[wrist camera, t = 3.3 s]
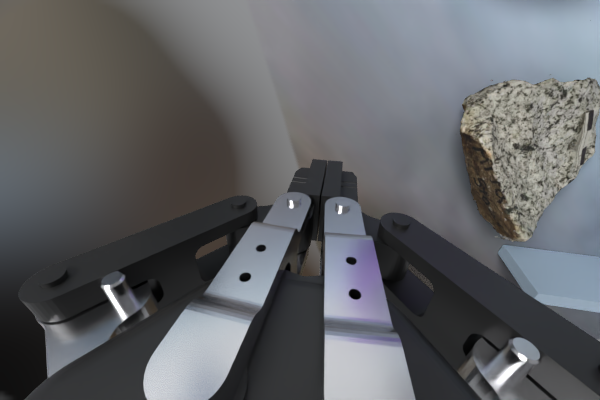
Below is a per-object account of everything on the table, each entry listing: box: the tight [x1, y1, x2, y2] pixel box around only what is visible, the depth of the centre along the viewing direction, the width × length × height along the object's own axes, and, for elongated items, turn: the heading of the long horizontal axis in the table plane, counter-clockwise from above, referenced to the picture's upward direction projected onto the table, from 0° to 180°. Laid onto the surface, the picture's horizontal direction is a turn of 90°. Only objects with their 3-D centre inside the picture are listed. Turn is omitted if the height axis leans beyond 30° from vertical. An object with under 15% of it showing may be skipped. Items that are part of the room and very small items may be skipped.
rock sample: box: [460, 20, 600, 242], centre depth 15 cm, size 10×8×9 cm
